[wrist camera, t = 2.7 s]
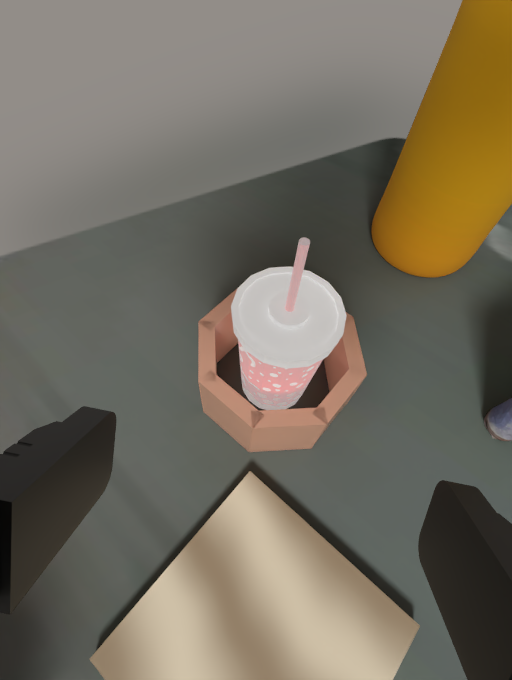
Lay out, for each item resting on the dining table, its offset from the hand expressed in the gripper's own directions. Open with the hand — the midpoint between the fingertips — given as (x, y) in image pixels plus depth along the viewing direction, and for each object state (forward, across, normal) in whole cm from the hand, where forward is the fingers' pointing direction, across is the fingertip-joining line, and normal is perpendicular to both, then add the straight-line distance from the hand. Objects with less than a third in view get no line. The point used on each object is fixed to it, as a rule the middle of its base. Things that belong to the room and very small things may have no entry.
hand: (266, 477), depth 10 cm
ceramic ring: (+18, 0, +4) cm, 19 cm away
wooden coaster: (+8, -2, +15) cm, 17 cm away
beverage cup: (+18, 0, +4) cm, 19 cm away
